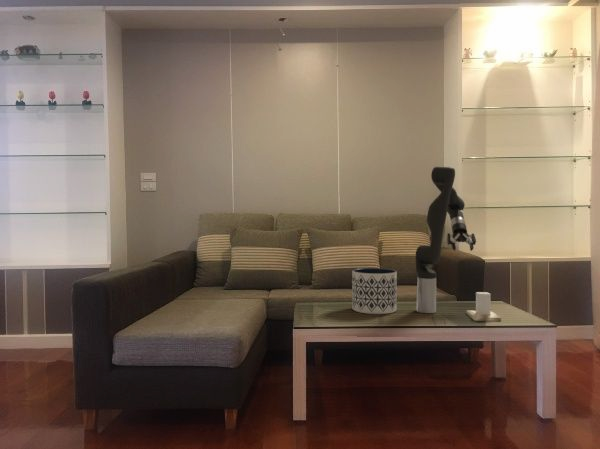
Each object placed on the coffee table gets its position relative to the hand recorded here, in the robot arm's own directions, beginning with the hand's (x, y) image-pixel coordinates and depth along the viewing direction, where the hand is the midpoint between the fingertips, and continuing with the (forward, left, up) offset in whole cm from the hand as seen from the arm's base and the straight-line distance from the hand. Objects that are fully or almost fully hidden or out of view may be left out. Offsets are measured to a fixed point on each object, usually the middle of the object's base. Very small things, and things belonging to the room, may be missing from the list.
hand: (463, 249), depth 259 cm
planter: (-46, -10, -31) cm, 56 cm away
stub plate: (+5, -21, -31) cm, 37 cm away
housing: (+5, -21, -29) cm, 36 cm away
